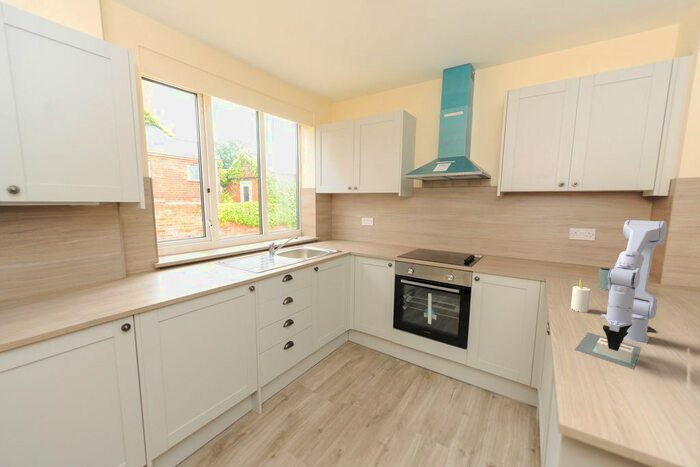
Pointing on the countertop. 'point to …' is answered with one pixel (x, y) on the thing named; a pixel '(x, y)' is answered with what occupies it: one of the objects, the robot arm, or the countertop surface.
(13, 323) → the countertop surface
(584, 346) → the mat
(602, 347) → the card box
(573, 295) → the candle
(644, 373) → the countertop surface
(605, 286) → the green pot
